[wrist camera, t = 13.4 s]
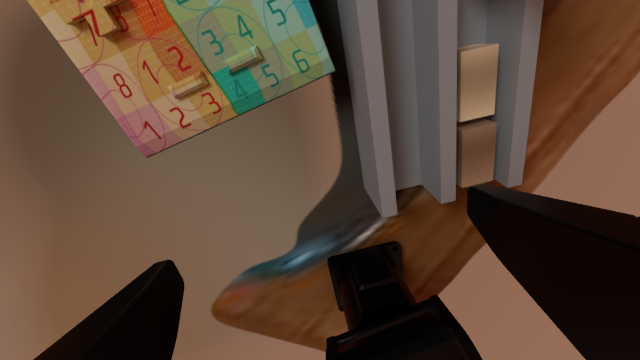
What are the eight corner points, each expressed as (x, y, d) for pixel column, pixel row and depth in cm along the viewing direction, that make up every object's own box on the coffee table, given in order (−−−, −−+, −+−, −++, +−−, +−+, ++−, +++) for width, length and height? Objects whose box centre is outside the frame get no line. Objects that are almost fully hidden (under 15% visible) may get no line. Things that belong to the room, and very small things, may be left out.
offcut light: (472, 107, 20) (494, 114, 18) (441, 114, 20) (460, 122, 18) (474, 44, 18) (499, 43, 16) (441, 51, 18) (461, 52, 16)
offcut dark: (470, 166, 22) (492, 180, 20) (442, 173, 22) (461, 188, 19) (472, 114, 20) (496, 123, 18) (442, 121, 20) (462, 131, 18)
